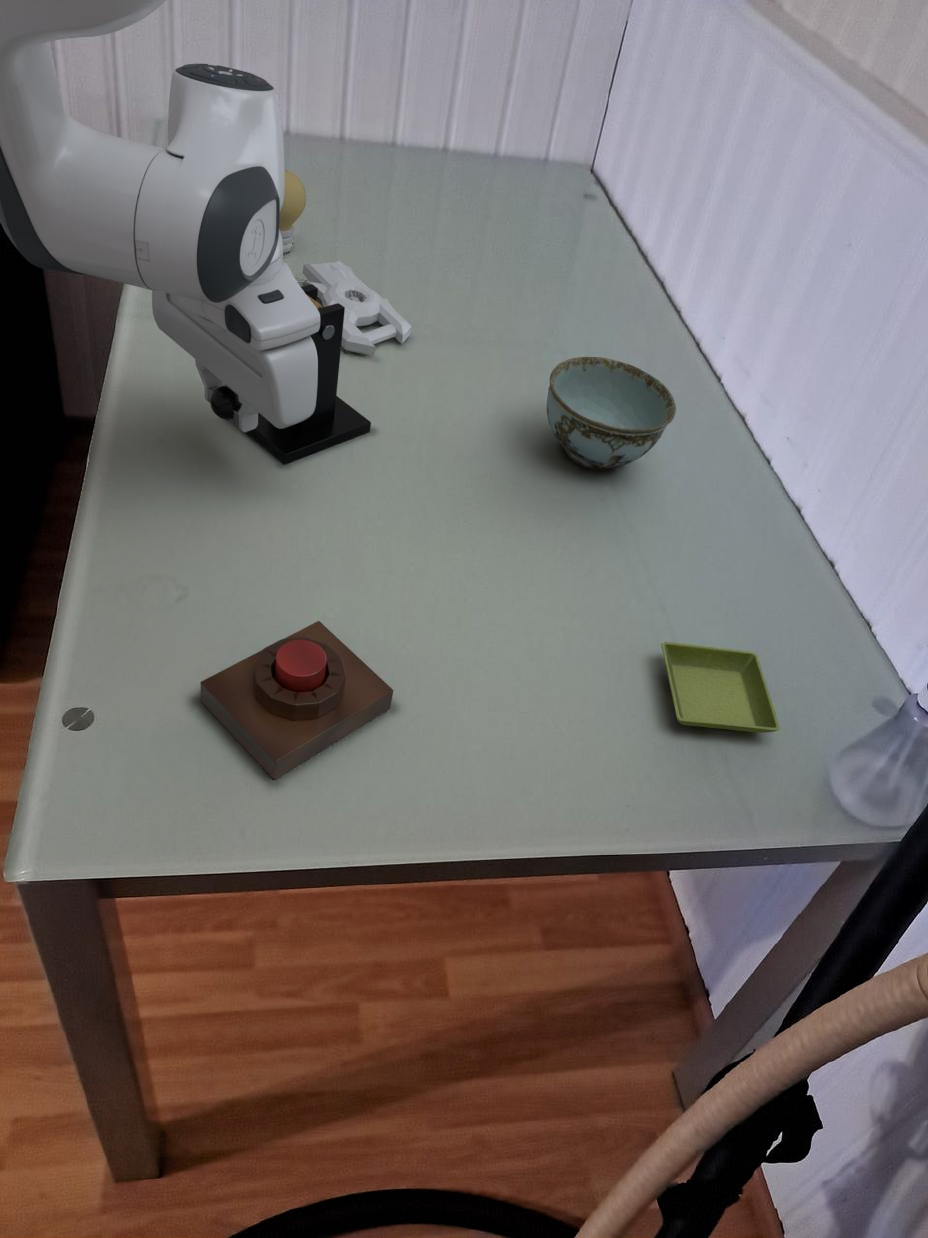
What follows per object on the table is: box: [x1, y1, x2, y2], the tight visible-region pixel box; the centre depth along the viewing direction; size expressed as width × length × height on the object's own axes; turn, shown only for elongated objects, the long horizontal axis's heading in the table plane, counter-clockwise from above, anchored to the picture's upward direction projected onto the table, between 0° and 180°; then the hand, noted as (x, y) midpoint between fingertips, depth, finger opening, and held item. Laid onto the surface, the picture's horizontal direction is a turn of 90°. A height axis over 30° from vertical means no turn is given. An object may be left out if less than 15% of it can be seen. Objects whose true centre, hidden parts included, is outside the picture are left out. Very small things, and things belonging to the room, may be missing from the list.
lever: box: [209, 295, 323, 421], centre depth 90 cm, size 14×3×3 cm
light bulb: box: [279, 169, 307, 254], centre depth 122 cm, size 6×6×10 cm
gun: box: [302, 259, 412, 356], centre depth 115 cm, size 18×4×10 cm
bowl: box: [546, 356, 677, 471], centre depth 101 cm, size 14×13×8 cm
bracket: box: [246, 284, 372, 465], centre depth 94 cm, size 11×9×14 cm
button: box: [275, 640, 326, 692], centre depth 70 cm, size 4×4×2 cm
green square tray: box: [661, 641, 780, 734], centre depth 80 cm, size 9×9×2 cm
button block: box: [199, 620, 394, 781], centre depth 71 cm, size 11×9×4 cm
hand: (231, 414), depth 90 cm, fingers closed on lever, 3 cm apart
